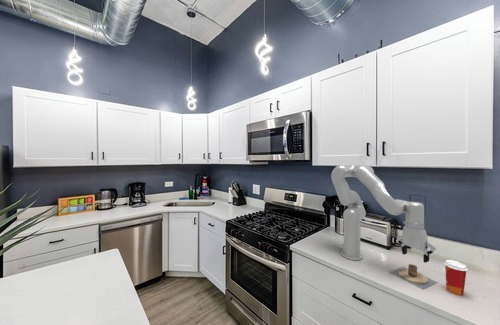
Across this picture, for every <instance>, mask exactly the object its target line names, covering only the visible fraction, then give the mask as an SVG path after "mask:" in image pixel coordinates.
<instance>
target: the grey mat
mask: <svg viewBox="0 0 500 325" xmlns="http://www.w3.org/2000/svg"><path fill="white" fill-rule="evenodd" d="M400 269H408V268H407V267H405V266H402V267H399V268H396V269H393V270H390V271H389V272H388V273H389V274H391V275H393V276H396V277H397V278H399V279H401V280H402V281H405V282H406V283H408V284H411V285H413V286H415V287H416V288H418V289H421V290H426V289H428V288H430V287H432V286H435V285H436V284H438V283H439V282H438V281H436V280H434V279H432V278H429V277H427V276H425V277H426V278H427V280H428V282H427V283H426V284H416V283H413V282H410V281H407V280H405V279H404V278H402V277H401V276H400V275H399V270H400Z"/></svg>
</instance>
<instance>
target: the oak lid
mask: <svg viewBox="0 0 500 325" xmlns="http://www.w3.org/2000/svg"><path fill="white" fill-rule="evenodd" d="M407 267H408V268H407V269H400V270H399V275H400V276H401V277H402V278H404V279H405V280H407V281H410V282H413V283H416V284H426V283H427V282H428V280H427V278H428V277H427V276H425V275H424V274H422V273H420V272H418V266H417V265H415V264H411V263H409V264H408V266H407ZM426 277H427V278H426ZM405 280H404V281H405ZM407 281H406V282H407Z"/></svg>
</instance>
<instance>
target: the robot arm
mask: <svg viewBox="0 0 500 325" xmlns="http://www.w3.org/2000/svg"><path fill="white" fill-rule="evenodd" d="M330 177H331V182H332V184H333V186H334V189H335V192H336V194H337V197H338V200H339V202H340V204H341V205H342V206H344V207H347V206H348V207H347V208H346V209H345V210H344V211H343V214H342V215H343V216H342V218H343V244H342V243H341V244H340V245H339V248H340V249H341V251H340V254H341V256H342V257H343V258H346V259H348V260H352V261H361V260H363V258H364V257H363V255H362V254H361V225H360V221H362V220H363V219H365V217H366V214H367V213H366V212H367V211H366V209H365V207H364V204H363V202H362V199H361V197H360V194H359V193H357V191H355V190H353V189H351V188H350V187H349V183H348V181H346V179H345V178H357V180H359V181H360V182H361V183H362V184H363V185H364V186H365V187H366V188H367V189H368V190H369V191H370V192H371V194H372V196H373V198H374V199H375V200H376V202H377V204H379V205H380V207H382V209H384V210H385V211H386V212H387V213H388V214H389V215H391V216H392V215H393V216H400V215H401V214H405V220H403V221H402V223H403V224H404V226H403V228H402V234H401V235H400V236H396V240H397V242H398V244H399V245H400V247H401V252H402V253H401V254H402V255H407V254H408V247H409V248H413V249H415V250H419V251H421V252H423V256H422V257H423V263H428V262H429V261H430V255H431V254H434V252H436V250H437V248H436V247H435V246H433V245H432V244H431V243H430V242H429V240H428V234H427V231H426V229H425V206H424V204H423V203H421V202H418V201H408V200H404V199H398V198H397V199H395V198H393V197H392V195H391V194H390V193H388V191H387V189H386V185H385V183H384V182H383V181H382V180H381V179H380V178H379V177H378V176H377V175H376V174H375V170H374V169H373V167H371V166H370V165H360V164H359V165H357V164H339V165H337V166H335V167H334V168H333V170H332V172H331V174H330ZM428 248H429V249H430V250H429V249H428Z"/></svg>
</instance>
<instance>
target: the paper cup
mask: <svg viewBox="0 0 500 325" xmlns="http://www.w3.org/2000/svg"><path fill="white" fill-rule="evenodd" d="M443 264H444V265H445V266H444V267H445V287H446V291H447V292H449V293H450V294H453V295H456V296H464V291H465V285H466V279H467V277H466V276H467V271H468V268H467V265H466V264H464V263H463V262H462V263H461V262H460V261H456V260H453V259H452V260H451V259H447V260H445V262H444V263H443Z"/></svg>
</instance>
